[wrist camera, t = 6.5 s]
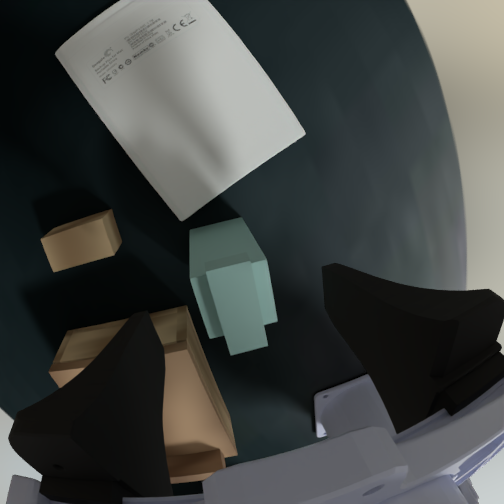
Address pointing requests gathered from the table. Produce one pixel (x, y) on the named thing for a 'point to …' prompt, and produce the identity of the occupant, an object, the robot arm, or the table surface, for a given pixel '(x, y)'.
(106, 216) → the tan shallow box
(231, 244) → the teal stepped block
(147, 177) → the external hard drive
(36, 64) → the table surface
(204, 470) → the lid
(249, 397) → the table surface
